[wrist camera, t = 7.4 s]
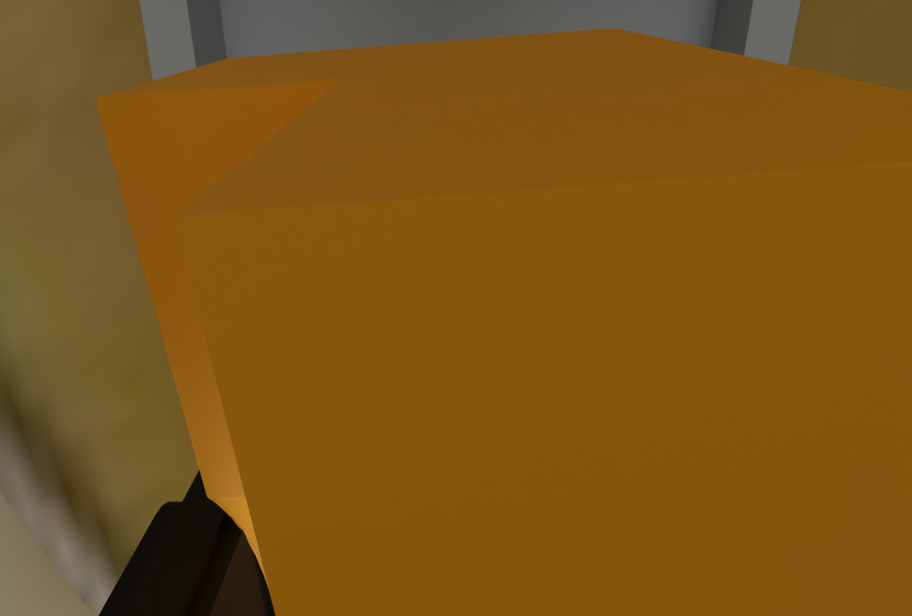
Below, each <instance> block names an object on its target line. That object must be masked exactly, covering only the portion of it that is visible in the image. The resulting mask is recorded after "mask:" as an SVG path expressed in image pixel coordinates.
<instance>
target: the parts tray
mask: <svg viewBox="0 0 912 616" xmlns="http://www.w3.org/2000/svg"><path fill="white" fill-rule="evenodd" d="M139 1H140V7H141V13H142V19H143V25H144V31H145V37H146V43H147V48H148V54H149V60H150V66H151V72H152V78H153V80H157V79H160V78H163V77H167V76H170V75H173V74H177V73H180V72H183V71H187V70H190V69H193V68H197V67H200V66H204V65H207V64H210V63H214V62H217V61H220V60H224V59H227V58H234V57H247V56H260V55H273V54H286V53H298V52H311V51H324V50H337V49H349V48H362V47H375V46H388V45H401V44H413V43H426V42H439V41H452V40H464V39H477V38H490V37H503V36H516V35H528V34H541V33H554V32H567V31H579V30H592V29H605V28H618V29H622V30H627V31H631V32H636V33H641V34H645V35H650V36H655V37H659V38H664V39H668V40H673V41H678V42H682V43H687V44H691V45H696V46H701V47H705V48H710V49H715V50H719V51H724V52H728V53H733V54H738V55H742V56H747V57H752V58H756V59H761V60H765V61H770V62H775V63H779V64H784V65H788V63H789V58H790V53H791V48H792V43H793V37H794V32H795V27H796V22H797V17H798V12H799V7H800V1H801V0H139Z"/></svg>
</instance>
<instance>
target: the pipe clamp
mask: <svg viewBox="0 0 912 616" xmlns="http://www.w3.org/2000/svg"><path fill="white" fill-rule="evenodd" d="M95 101H96V104H97V108H98V111H99V115H100V118H101V122H102V126H103V129H104V133H105V136H106V140H107V143H108V147H109V150H110V154H111V157H112V161H113V165H114V168H115V172H116V175H117V179H118V182H119V186H120V189H121V193H122V196H123V200H124V204H125V207H126V211H127V214H128V218H129V221H130V225H131V228H132V232H133V236H134V239H135V243H136V246H137V250H138V253H139V257H140V260H141V264H142V267H143V271H144V275H145V278H146V282H147V285H148V289H149V292H150V296H151V299H152V303H153V306H154V310H155V314H156V317H157V321H158V324H159V328H160V331H161V335H162V338H163V342H164V346H165V349H166V353H167V356H168V360H169V363H170V367H171V370H172V374H173V377H174V381H175V385H176V388H177V392H178V395H179V399H180V402H181V406H182V409H183V413H184V416H185V420H186V424H187V427H188V431H189V434H190V438H191V441H192V445H193V448H194V452H195V455H196V459H197V463H198V466H199V470H200V473H201V477H202V480H203V484H204V487H205V491H206V495H207V497H208V498H209V499H211V500H212V501H214V502H215V503H216V504H217V505H218V506H220V507H221V508H222V509H223V510H224V511H225V512H226V513H227V514H228V515H229V516H230V517H231V518H232V519H233V521H234V522H235V523H236V525H237V526H238V527H239V529H240V530H243V531H244V533H245V535H246V537H247V540H248V542H249V544H250V546H251V548H252V550H253V552H254V554H255V555H256V558H257V560H258V562H259V565H260V567H261V570H262V572H263V574H264V577H265V579H266V583H267V586H268V589H269V592H270V596H271V600H272V604H273V608H274V612H275V616H912V92H909V91H904V90H899V89H895V88H890V87H885V86H881V85H876V84H872V83H867V82H862V81H858V80H853V79H849V78H844V77H839V76H835V75H830V74H825V73H821V72H816V71H812V70H807V69H802V68H798V67H793V66H788V65H784V64H779V63H775V62H770V61H765V60H761V59H756V58H752V57H747V56H742V55H738V54H733V53H728V52H724V51H719V50H715V49H710V48H705V47H701V46H696V45H691V44H687V43H682V42H678V41H673V40H668V39H664V38H659V37H655V36H650V35H645V34H641V33H636V32H631V31H627V30H622V29H618V28H605V29H592V30H579V31H567V32H554V33H541V34H528V35H516V36H503V37H490V38H477V39H464V40H452V41H439V42H426V43H413V44H401V45H388V46H375V47H362V48H349V49H337V50H324V51H311V52H298V53H286V54H273V55H260V56H247V57H234V58H227V59H224V60H220V61H217V62H214V63H210V64H207V65H204V66H200V67H197V68H193V69H190V70H187V71H183V72H180V73H177V74H173V75H170V76H167V77H163V78H160V79H157V80H153V81H150V82H147V83H143V84H140V85H137V86H133V87H130V88H127V89H123V90H120V91H116V92H113V93H110V94H106V95H103V96H100V97H96V98H95Z"/></svg>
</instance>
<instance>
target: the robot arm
mask: <svg viewBox="0 0 912 616" xmlns="http://www.w3.org/2000/svg"><path fill="white" fill-rule="evenodd" d="M99 616H275V612H274V608H273V604H272V600H271V596H270V592H269V589H268V586H267V583H266V579H265V577H264V574H263V572H262V570H261V567H260V565H259V562H258V560H257V558H256V555H255V554H254V552H253V550H252V548H251V546H250V544H249V542H248V540H247V537H246V535H245V533H244V531H243V530H240V529H239V527H238V526H237V525H236V523H235V522H234V521H233V519H232V518H231V517H230V516H229V515H228V514H227V513H226V512H225V511H224V510H223V509H222V508H221V507H220V506H218V505H217V504H216V503H215V502H214V501H212V500H211V499H209V498H208V497H207V495H206V491H205V487H204V484H203V480H202V477H201V473H200V470H199V471H198V473H197V475H196V477H195V479H194V481H193V483H192V485H191V487H190V488H189V490H188V492H187V494H186V496H185V498H184V500H183V502H167V503H166V504H164V505H162V507H161V508H160V509H159V511H158V512H157V513H156V515H155V517H154V519H153V520H152V522H151V524H150V526H149V527H148V529H147V531H146V533H145V534H144V536H143V538H142V540H141V542H140V543H139V545H138V547H137V549H136V550H135V552H134V554H133V556H132V557H131V559H130V561H129V563H128V565H127V566H126V568H125V570H124V572H123V573H122V575H121V577H120V579H119V580H118V582H117V584H116V586H115V587H114V589H113V591H112V593H111V595H110V596H109V598H108V600H107V602H106V603H105V605H104V607H103V609H102V610H101V612H100V614H99Z"/></svg>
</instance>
